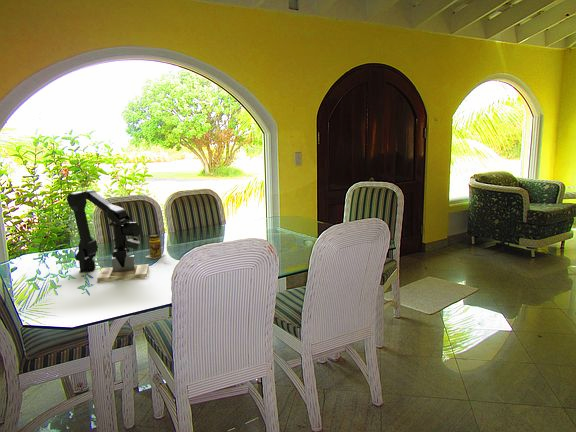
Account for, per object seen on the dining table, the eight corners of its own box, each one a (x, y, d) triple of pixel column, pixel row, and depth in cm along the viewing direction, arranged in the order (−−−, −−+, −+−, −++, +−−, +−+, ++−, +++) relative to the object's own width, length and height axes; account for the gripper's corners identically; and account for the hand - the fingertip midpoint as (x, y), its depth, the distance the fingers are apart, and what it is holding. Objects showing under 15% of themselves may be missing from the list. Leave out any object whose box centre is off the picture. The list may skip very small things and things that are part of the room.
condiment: (155, 259, 248) (153, 237, 245) (144, 257, 252) (142, 235, 249) (165, 255, 254) (163, 234, 251) (154, 253, 258) (152, 232, 255)
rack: (97, 282, 214) (97, 277, 214) (102, 271, 228) (102, 267, 228) (146, 277, 219) (146, 273, 218) (148, 267, 233) (148, 263, 233)
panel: (112, 272, 221) (111, 258, 220) (113, 270, 223) (112, 256, 222) (134, 270, 223) (133, 256, 222) (135, 268, 226) (133, 255, 224)
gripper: (136, 238, 212) (139, 270, 216) (139, 229, 230) (142, 259, 233) (110, 240, 210) (113, 273, 213) (116, 230, 228) (119, 261, 231)
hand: (123, 266), depth 223 cm, fingers closed on panel, 2 cm apart
